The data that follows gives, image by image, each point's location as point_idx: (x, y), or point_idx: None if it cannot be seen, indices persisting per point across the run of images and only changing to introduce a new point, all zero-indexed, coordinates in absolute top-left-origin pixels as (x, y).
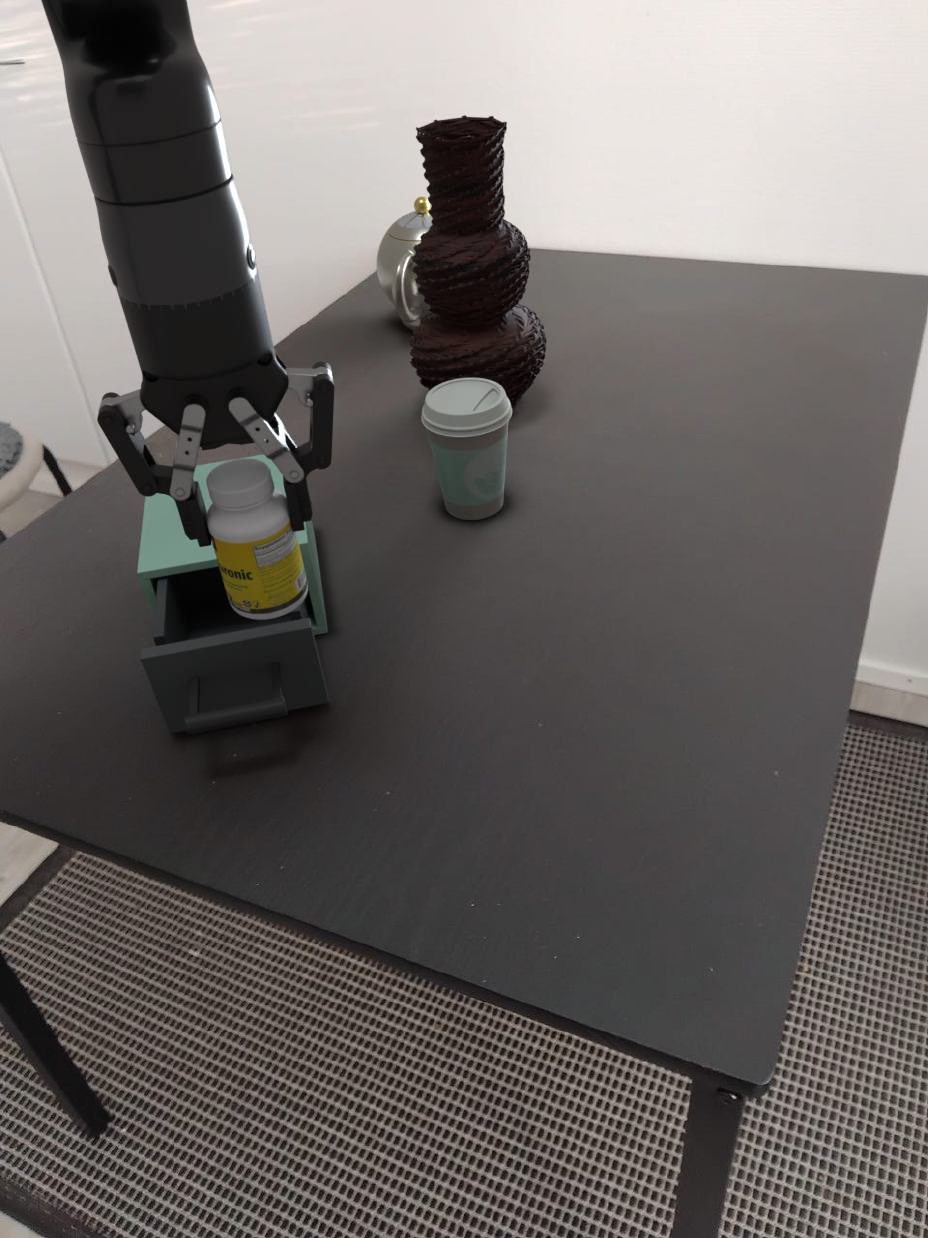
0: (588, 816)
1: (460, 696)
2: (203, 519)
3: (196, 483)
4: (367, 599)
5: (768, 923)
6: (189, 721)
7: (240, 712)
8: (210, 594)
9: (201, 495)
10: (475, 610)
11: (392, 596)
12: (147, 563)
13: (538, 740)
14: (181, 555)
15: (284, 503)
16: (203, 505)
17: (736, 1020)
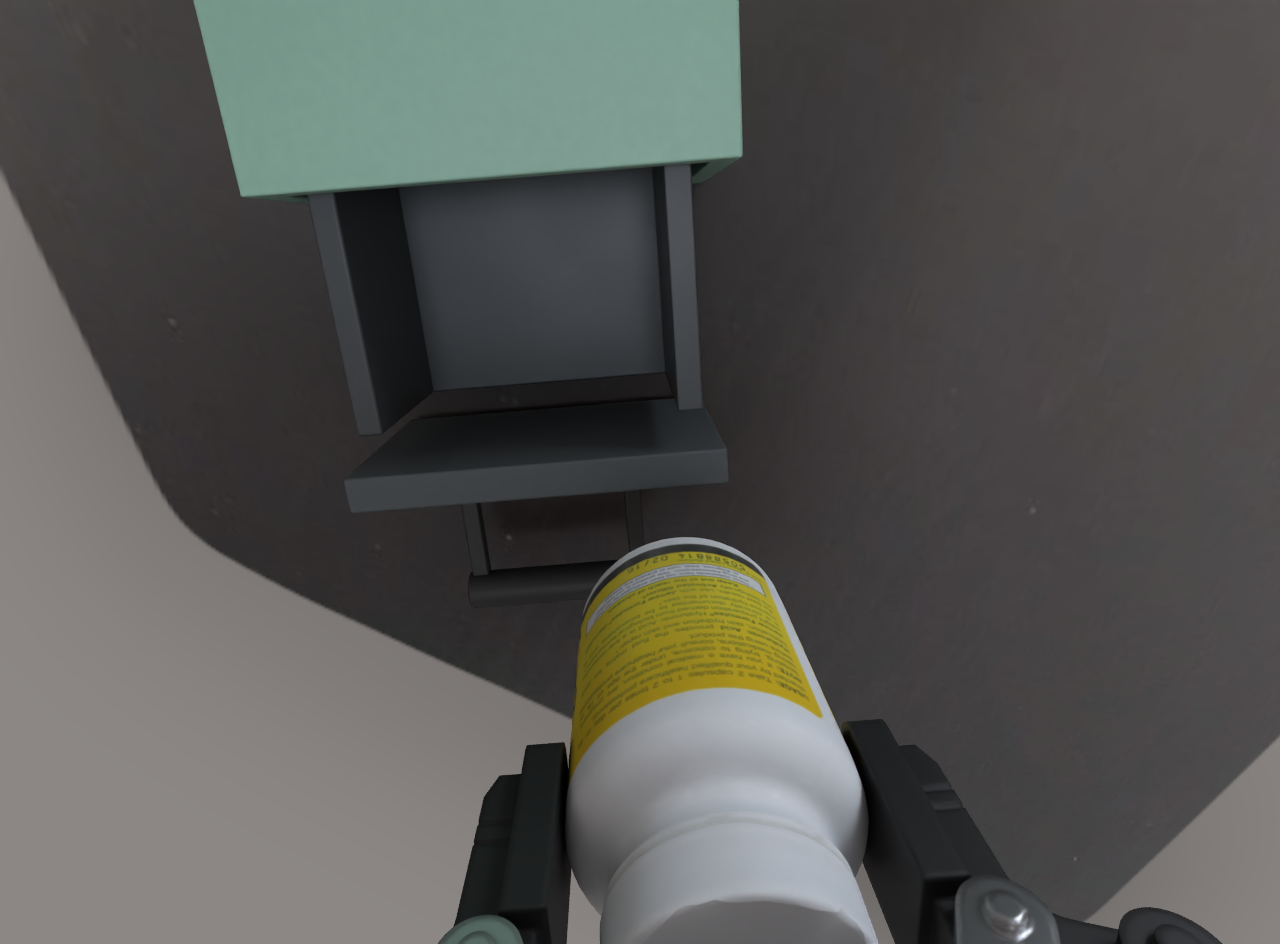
0: (1033, 675)
1: (926, 423)
2: (566, 904)
3: (542, 924)
4: (799, 70)
5: (1158, 824)
6: (479, 606)
7: (572, 597)
8: None
9: (553, 867)
10: (1022, 174)
11: (857, 72)
12: (259, 151)
13: (1018, 540)
14: (358, 133)
15: (861, 861)
16: (557, 847)
17: (1070, 901)
